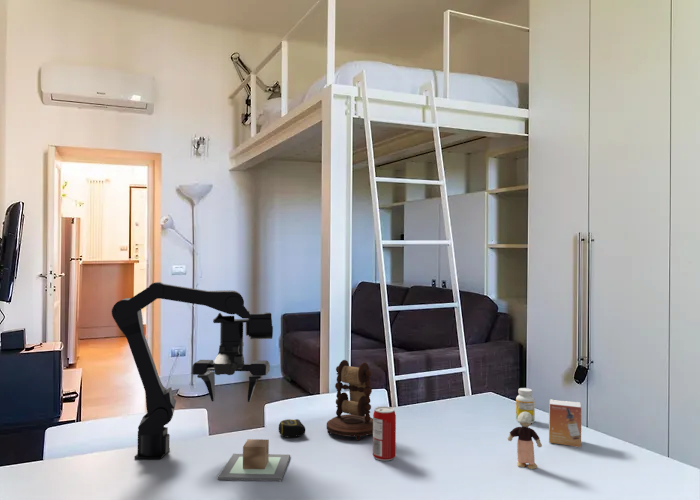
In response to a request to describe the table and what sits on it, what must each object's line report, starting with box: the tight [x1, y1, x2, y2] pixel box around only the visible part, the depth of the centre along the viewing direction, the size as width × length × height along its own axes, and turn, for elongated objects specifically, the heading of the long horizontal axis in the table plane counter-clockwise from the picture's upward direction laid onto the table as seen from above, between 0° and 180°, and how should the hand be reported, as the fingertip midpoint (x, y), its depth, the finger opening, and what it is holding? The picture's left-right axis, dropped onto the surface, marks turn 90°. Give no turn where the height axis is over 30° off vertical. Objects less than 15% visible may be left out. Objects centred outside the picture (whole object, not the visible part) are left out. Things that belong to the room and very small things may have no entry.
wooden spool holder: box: [326, 359, 373, 442], centre depth 147 cm, size 15×15×20 cm
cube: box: [242, 438, 270, 469], centre depth 122 cm, size 5×5×5 cm
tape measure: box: [278, 418, 306, 438], centre depth 145 cm, size 7×7×4 cm
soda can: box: [372, 406, 397, 462], centre depth 129 cm, size 6×6×12 cm
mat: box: [217, 453, 291, 482], centre depth 122 cm, size 14×14×1 cm
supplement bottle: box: [515, 387, 536, 424], centre depth 159 cm, size 5×5×10 cm
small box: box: [548, 399, 582, 448], centre depth 141 cm, size 8×6×10 cm
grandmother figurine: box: [507, 412, 543, 470], centre depth 124 cm, size 8×4×13 cm, turn 71°
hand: (231, 401), depth 134 cm, fingers open, 9 cm apart
